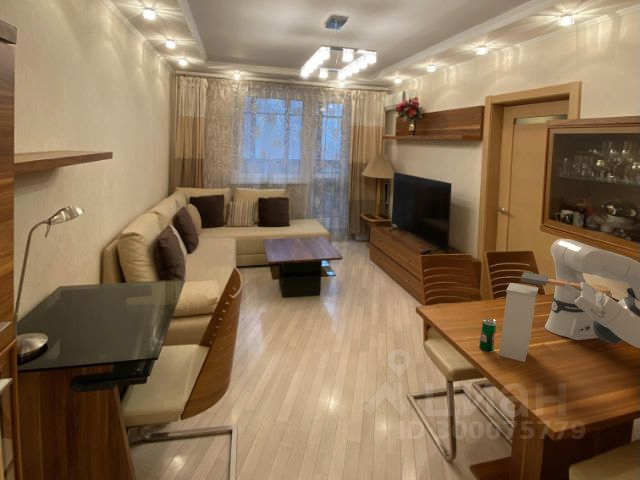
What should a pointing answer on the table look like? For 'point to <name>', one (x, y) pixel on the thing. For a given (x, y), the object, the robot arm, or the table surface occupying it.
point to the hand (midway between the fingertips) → (565, 283)
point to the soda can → (488, 335)
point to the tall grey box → (517, 321)
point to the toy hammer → (545, 280)
